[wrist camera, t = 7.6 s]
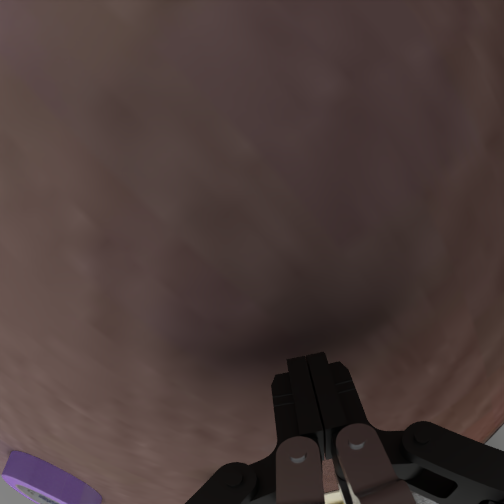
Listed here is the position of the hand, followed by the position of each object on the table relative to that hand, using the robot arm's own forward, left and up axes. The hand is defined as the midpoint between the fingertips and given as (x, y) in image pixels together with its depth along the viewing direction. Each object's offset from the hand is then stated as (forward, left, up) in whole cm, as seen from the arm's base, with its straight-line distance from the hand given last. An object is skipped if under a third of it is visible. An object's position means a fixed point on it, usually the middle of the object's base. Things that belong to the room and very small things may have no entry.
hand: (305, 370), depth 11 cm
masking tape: (+28, +18, -2) cm, 33 cm away
